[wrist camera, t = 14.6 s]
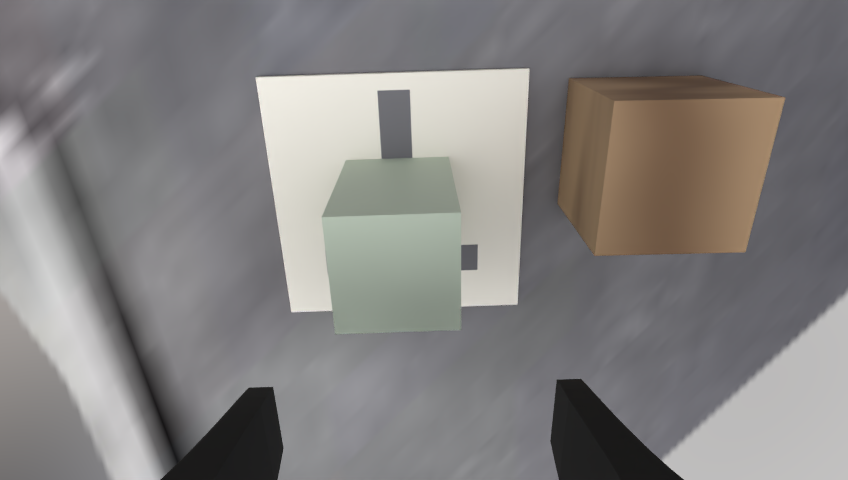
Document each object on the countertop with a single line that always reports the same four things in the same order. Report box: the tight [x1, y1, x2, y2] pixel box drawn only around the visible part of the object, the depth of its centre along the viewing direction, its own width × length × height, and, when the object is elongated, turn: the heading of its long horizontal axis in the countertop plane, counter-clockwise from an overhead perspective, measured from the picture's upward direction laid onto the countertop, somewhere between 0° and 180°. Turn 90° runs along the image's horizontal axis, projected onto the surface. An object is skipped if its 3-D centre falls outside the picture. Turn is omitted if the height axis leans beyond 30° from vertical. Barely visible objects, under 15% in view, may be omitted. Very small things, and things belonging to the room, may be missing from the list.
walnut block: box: [558, 76, 785, 256], centre depth 19 cm, size 5×5×5 cm
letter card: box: [256, 68, 529, 312], centre depth 22 cm, size 10×10×1 cm
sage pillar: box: [322, 157, 461, 334], centre depth 19 cm, size 4×4×6 cm
